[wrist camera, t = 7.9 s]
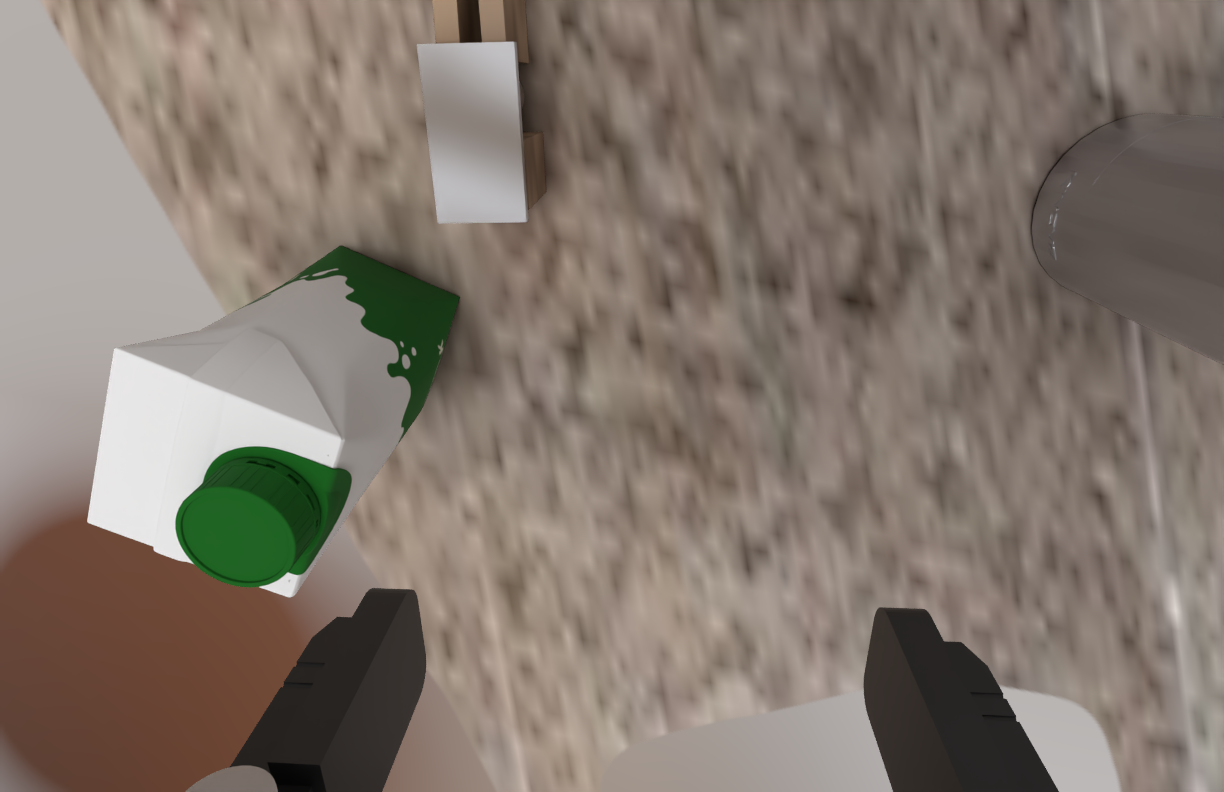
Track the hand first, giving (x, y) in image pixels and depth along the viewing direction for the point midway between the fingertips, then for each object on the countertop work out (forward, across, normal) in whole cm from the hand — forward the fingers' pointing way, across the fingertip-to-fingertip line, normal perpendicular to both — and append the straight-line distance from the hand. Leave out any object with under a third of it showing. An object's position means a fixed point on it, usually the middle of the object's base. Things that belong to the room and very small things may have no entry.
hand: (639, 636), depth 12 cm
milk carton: (+29, +16, +4) cm, 33 cm away
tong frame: (+29, +8, -13) cm, 33 cm away
